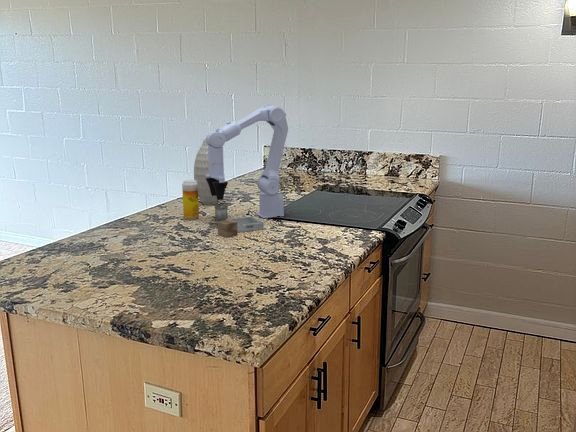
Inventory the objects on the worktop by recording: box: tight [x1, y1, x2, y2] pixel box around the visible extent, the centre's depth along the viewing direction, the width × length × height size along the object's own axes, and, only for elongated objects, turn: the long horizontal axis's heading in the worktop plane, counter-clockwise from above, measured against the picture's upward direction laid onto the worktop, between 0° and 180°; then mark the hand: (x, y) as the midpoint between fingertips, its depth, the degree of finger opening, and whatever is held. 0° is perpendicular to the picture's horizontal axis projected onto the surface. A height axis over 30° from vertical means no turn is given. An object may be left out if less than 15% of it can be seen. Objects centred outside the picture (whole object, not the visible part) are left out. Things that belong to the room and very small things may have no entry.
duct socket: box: [226, 215, 264, 233], centre depth 218 cm, size 11×12×2 cm
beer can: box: [181, 179, 200, 221], centre depth 229 cm, size 6×6×15 cm
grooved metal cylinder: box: [214, 203, 229, 223], centre depth 227 cm, size 5×5×6 cm
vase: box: [193, 138, 219, 206], centre depth 252 cm, size 13×13×28 cm
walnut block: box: [217, 218, 239, 239], centre depth 208 cm, size 5×5×5 cm
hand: (217, 197), depth 225 cm, fingers open, 7 cm apart
